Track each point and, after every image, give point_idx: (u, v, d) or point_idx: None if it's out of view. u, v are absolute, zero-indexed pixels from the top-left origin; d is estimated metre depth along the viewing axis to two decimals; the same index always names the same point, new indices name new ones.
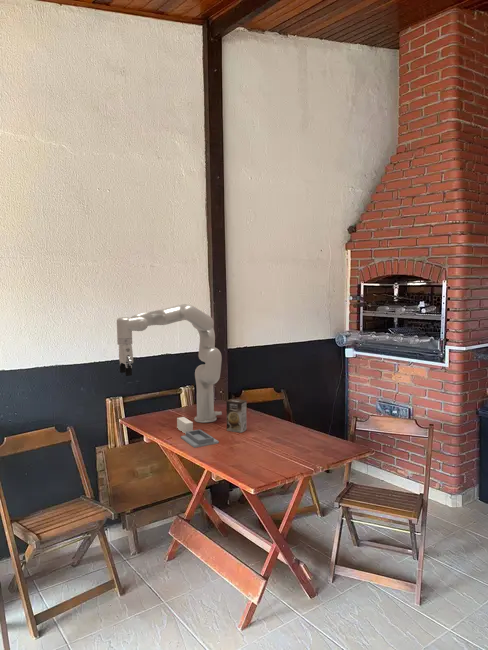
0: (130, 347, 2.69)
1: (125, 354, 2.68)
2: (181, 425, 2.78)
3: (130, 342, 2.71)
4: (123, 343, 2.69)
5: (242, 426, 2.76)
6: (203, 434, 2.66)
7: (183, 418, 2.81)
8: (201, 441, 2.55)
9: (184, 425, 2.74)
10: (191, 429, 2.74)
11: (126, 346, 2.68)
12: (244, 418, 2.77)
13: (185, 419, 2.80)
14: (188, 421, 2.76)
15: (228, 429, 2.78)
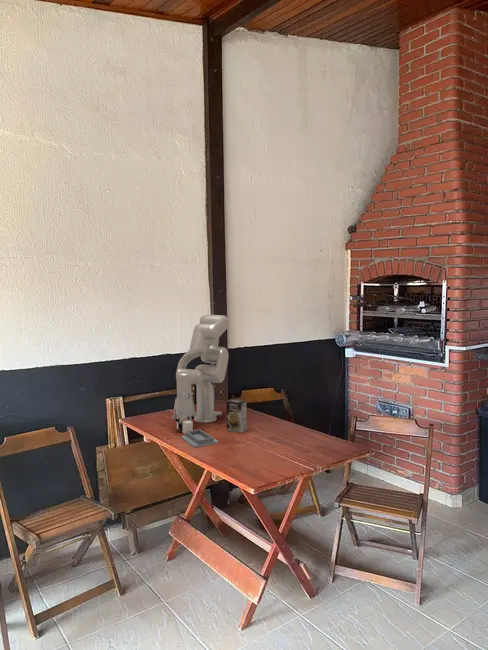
0: None
1: (193, 406, 2.79)
2: None
3: None
4: (191, 396, 2.77)
5: (242, 426, 2.76)
6: (203, 434, 2.66)
7: (183, 418, 2.81)
8: (201, 441, 2.55)
9: (184, 424, 2.74)
10: (191, 429, 2.74)
11: None
12: (244, 418, 2.77)
13: (185, 419, 2.80)
14: (188, 421, 2.76)
15: (228, 429, 2.78)
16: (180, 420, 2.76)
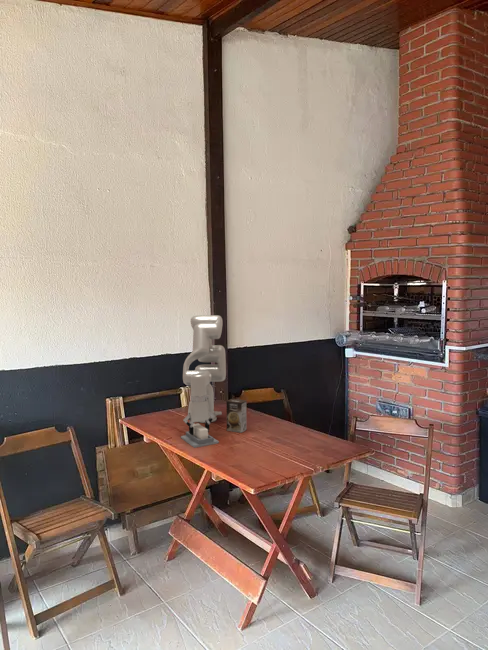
0: None
1: None
2: (195, 433, 2.62)
3: None
4: (206, 399, 2.61)
5: (242, 426, 2.76)
6: None
7: (197, 425, 2.65)
8: (201, 441, 2.55)
9: (199, 432, 2.58)
10: (206, 436, 2.58)
11: None
12: (244, 418, 2.77)
13: (199, 426, 2.64)
14: (203, 428, 2.60)
15: (228, 429, 2.78)
16: (192, 424, 2.59)
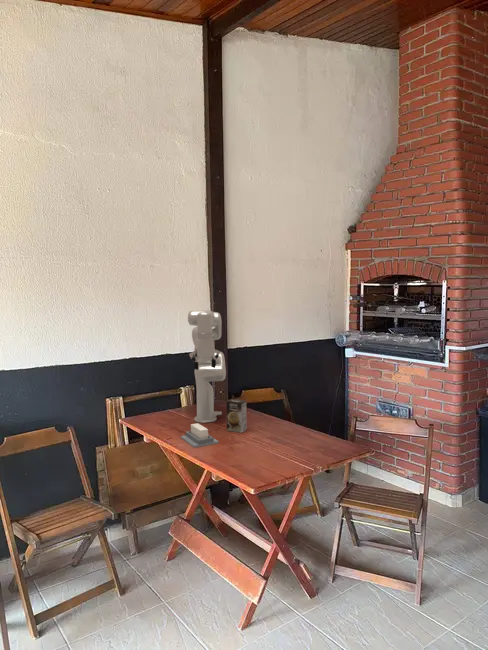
0: None
1: None
2: (195, 433, 2.62)
3: None
4: (211, 336, 2.75)
5: (242, 426, 2.76)
6: None
7: (197, 425, 2.65)
8: (201, 441, 2.55)
9: (199, 432, 2.58)
10: (206, 436, 2.58)
11: None
12: (244, 418, 2.77)
13: (199, 426, 2.64)
14: (203, 428, 2.60)
15: (228, 429, 2.78)
16: (197, 359, 2.72)
